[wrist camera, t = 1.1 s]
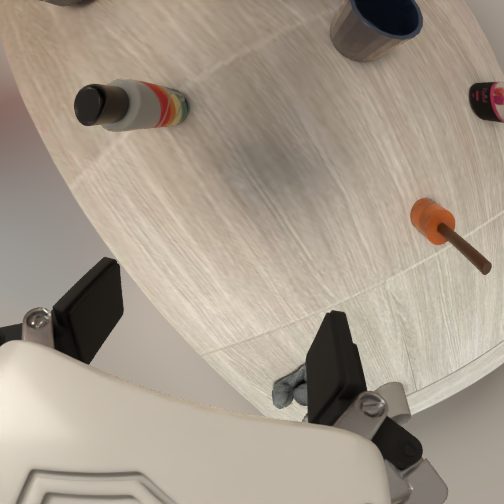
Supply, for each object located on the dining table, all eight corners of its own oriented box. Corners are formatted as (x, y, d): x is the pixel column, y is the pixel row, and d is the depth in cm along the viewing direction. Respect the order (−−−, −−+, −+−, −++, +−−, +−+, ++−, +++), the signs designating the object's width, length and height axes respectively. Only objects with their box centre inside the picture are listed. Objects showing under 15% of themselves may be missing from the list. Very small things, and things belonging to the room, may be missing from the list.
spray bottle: (197, 110, 35) (123, 103, 17) (168, 133, 37) (82, 150, 19) (176, 82, 33) (92, 60, 15) (148, 107, 35) (55, 107, 17)
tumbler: (342, 6, 25) (364, -33, 13) (391, 34, 26) (430, 8, 14) (320, 43, 28) (337, 10, 17) (371, 72, 29) (409, 54, 18)
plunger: (421, 191, 36) (489, 238, 20) (442, 209, 37) (507, 259, 21) (404, 219, 38) (462, 278, 22) (425, 235, 39) (482, 295, 23)
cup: (367, 394, 58) (373, 426, 50) (393, 378, 55) (402, 410, 46) (382, 403, 60) (389, 432, 51) (407, 388, 57) (416, 417, 48)
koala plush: (267, 385, 59) (260, 458, 41) (316, 342, 51) (323, 428, 34) (322, 405, 61) (326, 470, 44) (373, 368, 54) (389, 441, 36)
